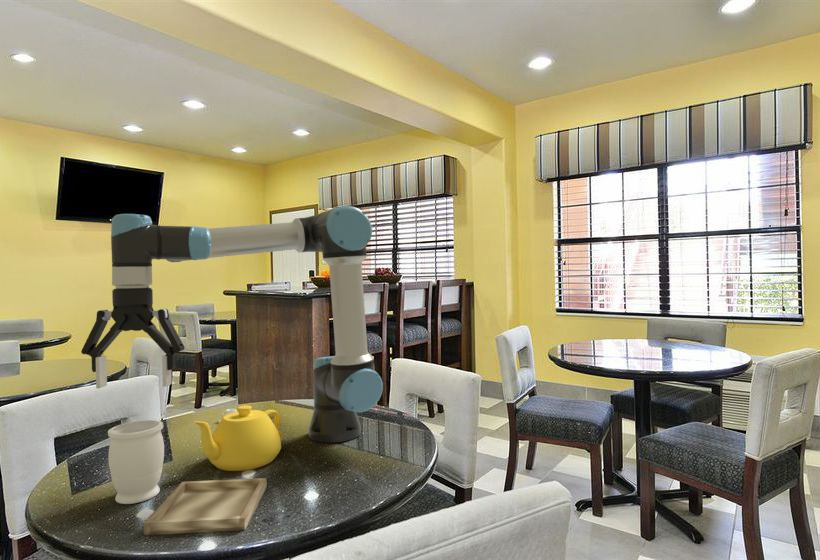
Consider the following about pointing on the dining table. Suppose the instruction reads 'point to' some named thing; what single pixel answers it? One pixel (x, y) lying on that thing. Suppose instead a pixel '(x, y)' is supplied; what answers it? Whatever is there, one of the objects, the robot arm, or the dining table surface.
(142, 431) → the jar
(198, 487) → the tray
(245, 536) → the dining table surface
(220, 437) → the teapot
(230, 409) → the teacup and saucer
